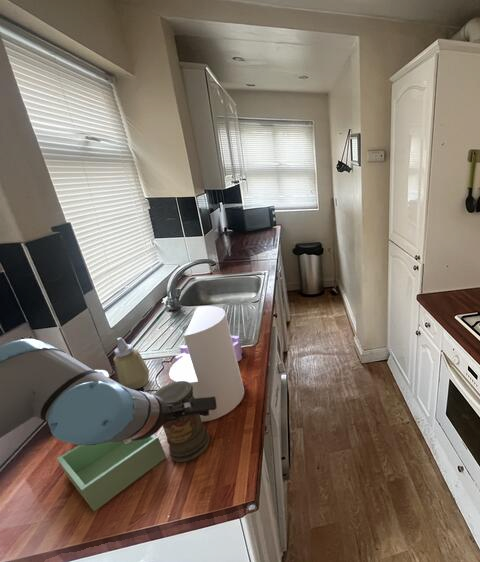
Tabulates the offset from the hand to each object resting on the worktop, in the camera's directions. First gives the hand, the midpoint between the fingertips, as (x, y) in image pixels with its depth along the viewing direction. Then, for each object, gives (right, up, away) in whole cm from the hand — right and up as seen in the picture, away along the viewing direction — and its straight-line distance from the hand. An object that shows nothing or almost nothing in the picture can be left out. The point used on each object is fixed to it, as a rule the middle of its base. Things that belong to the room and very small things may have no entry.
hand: (173, 419), depth 70 cm
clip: (-14, +2, +43) cm, 45 cm away
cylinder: (-4, -5, +25) cm, 25 cm away
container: (-1, -11, +9) cm, 15 cm away
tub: (-16, -14, +4) cm, 22 cm away
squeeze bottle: (-33, -3, +32) cm, 46 cm away
